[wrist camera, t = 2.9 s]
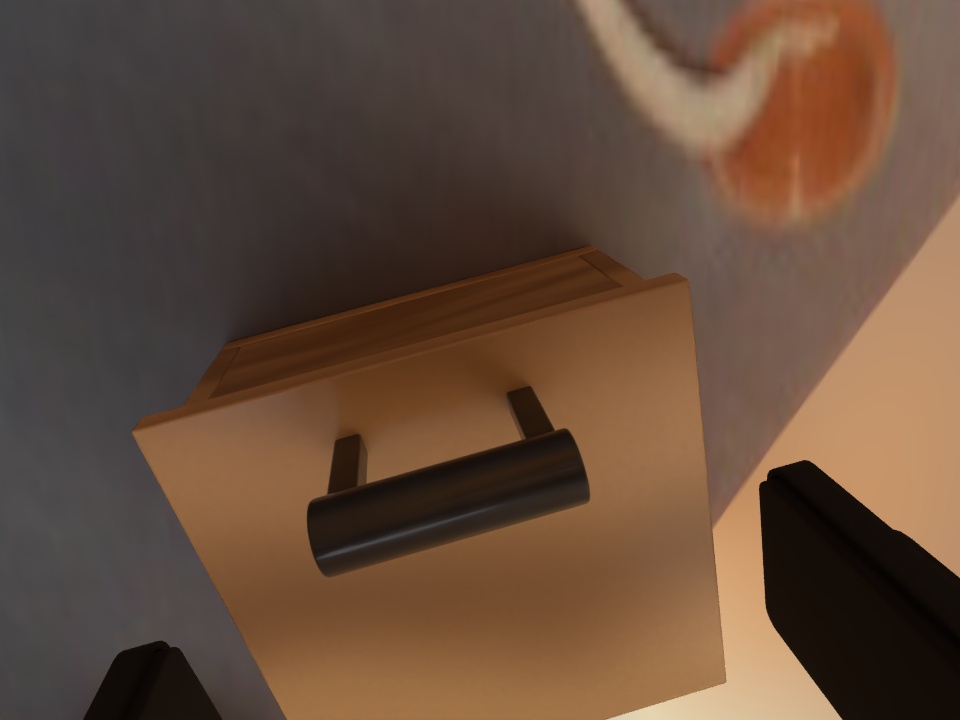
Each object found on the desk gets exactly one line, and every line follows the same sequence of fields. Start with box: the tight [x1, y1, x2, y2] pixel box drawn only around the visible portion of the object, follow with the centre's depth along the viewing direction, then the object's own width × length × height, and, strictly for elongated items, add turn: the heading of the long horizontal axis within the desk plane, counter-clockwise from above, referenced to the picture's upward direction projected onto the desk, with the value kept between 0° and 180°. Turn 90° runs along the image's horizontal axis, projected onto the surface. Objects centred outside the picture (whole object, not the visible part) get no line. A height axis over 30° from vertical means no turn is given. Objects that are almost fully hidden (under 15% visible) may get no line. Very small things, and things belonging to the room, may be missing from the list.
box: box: [183, 246, 645, 406], centre depth 22 cm, size 14×14×7 cm
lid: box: [132, 273, 726, 720], centre depth 16 cm, size 15×14×5 cm
